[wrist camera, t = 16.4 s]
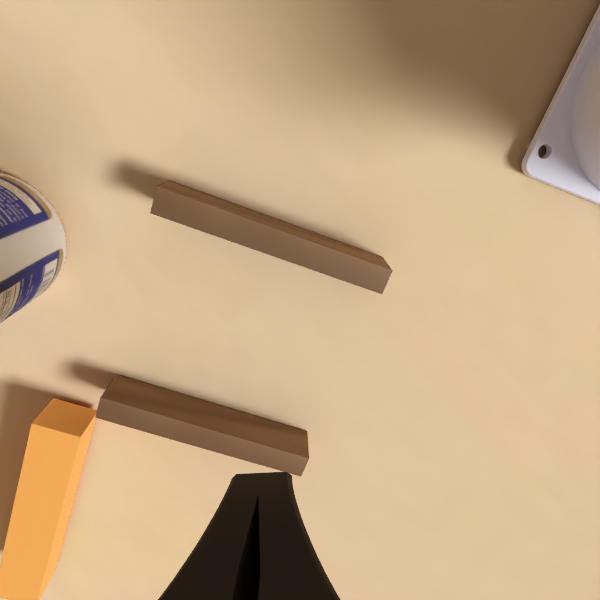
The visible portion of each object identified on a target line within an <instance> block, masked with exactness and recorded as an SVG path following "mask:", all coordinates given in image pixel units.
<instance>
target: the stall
mask: <svg viewBox="0 0 600 600" xmlns="http://www.w3.org/2000/svg"><path fill="white" fill-rule="evenodd" d="M150 213H151V214H154V215H157V216H160V217H163V218H166V219H169V220H171V221H174V222H177V223H180V224H183V225H186V226H189V227H191V228H194V229H197V230H200V231H203V232H206V233H209V234H211V235H214V236H217V237H220V238H223V239H226V240H229V241H231V242H234V243H237V244H240V245H243V246H246V247H249V248H251V249H254V250H257V251H260V252H263V253H266V254H269V255H271V256H274V257H277V258H280V259H283V260H286V261H289V262H291V263H294V264H297V265H300V266H303V267H306V268H309V269H312V270H314V271H317V272H320V273H323V274H326V275H329V276H332V277H334V278H337V279H340V280H343V281H346V282H349V283H352V284H354V285H357V286H360V287H363V288H366V289H369V290H372V291H374V292H377V293H380V294H382V293H383V291H384V289H385V286H386V284H387V282H388V280H389V277H390V275H391V273H392V269H391V268H390V266H389V265H388V264H387V262H386V261H385V260H384V258H383V257H380V256H378V255H375V254H372V253H369V252H366V251H364V250H361V249H358V248H355V247H353V246H350V245H347V244H344V243H342V242H339V241H336V240H333V239H330V238H328V237H325V236H322V235H319V234H317V233H314V232H311V231H308V230H306V229H303V228H300V227H297V226H294V225H292V224H289V223H286V222H283V221H281V220H278V219H275V218H272V217H270V216H267V215H264V214H261V213H258V212H256V211H253V210H250V209H247V208H245V207H242V206H239V205H236V204H234V203H231V202H228V201H225V200H222V199H220V198H217V197H214V196H211V195H209V194H206V193H203V192H200V191H198V190H195V189H192V188H189V187H186V186H184V185H181V184H178V183H175V182H173V181H168V182H166V183H164V184H162V185H159V186H157V190H156V193H155V197H154V201H153V205H152V208H151V212H150ZM95 418H99V419H102V420H106V421H109V422H113V423H116V424H120V425H123V426H127V427H130V428H134V429H137V430H141V431H144V432H148V433H151V434H155V435H158V436H162V437H165V438H169V439H172V440H176V441H179V442H183V443H186V444H190V445H193V446H197V447H200V448H204V449H207V450H211V451H214V452H217V453H221V454H224V455H228V456H231V457H235V458H238V459H242V460H245V461H249V462H252V463H256V464H259V465H263V466H266V467H270V468H273V469H277V470H280V471H284V472H288V473H291V474H294V475H298V476H301V475H302V473H303V471H304V469H305V466H306V464H307V462H308V460H309V452H308V437H307V431H304V430H300V429H297V428H294V427H290V426H287V425H284V424H280V423H277V422H274V421H270V420H267V419H264V418H260V417H257V416H254V415H250V414H247V413H244V412H240V411H237V410H234V409H230V408H227V407H224V406H221V405H217V404H214V403H211V402H207V401H204V400H201V399H197V398H194V397H191V396H187V395H184V394H181V393H177V392H174V391H171V390H167V389H164V388H161V387H157V386H154V385H151V384H147V383H144V382H141V381H137V380H134V379H131V378H127V377H124V376H121V375H117V374H116V376H115V377H114V379H113V380H112V382H111V383H110V385H109V386H108V387H107V389H106V390H105V392H104V393H103V395H102V396H101V398H100V402H99V405H98V409H97V413H96V416H95Z"/></svg>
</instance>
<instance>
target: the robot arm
mask: <svg viewBox="0 0 600 600" xmlns="http://www.w3.org/2000/svg"><path fill="white" fill-rule="evenodd" d="M542 145H545V146H546V149H547V151H546V154H545V155H544V156H543V157H542V158H540V157H539V156H538V150H539V148H540V147H541V146H542ZM521 167H522V171H523V173H524V174H525V175H527V176H529V177H531V178H533V179H536V180H538V181H541V182H543V183H546V184H548V185H551V186H553V187H556V188H558V189H561V190H563V191H566V192H568V193H571V194H573V195H576V196H578V197H581V198H583V199H585V200H588V201H590V202H593V203H595V204H598V205H600V5H599V7H598V9H597V11H596V13H595V15H594V17H593V19H592V21H591V23H590V25H589V27H588V29H587V31H586V33H585V35H584V37H583V39H582V41H581V43H580V45H579V47H578V49H577V51H576V53H575V55H574V57H573V59H572V61H571V63H570V65H569V67H568V69H567V71H566V73H565V75H564V77H563V79H562V81H561V83H560V85H559V87H558V89H557V91H556V93H555V95H554V97H553V99H552V101H551V103H550V105H549V107H548V109H547V111H546V113H545V115H544V117H543V119H542V121H541V123H540V125H539V127H538V130H537V132H536V134H535V136H534V138H533V140H532V142H531V144H530V146H529V148H528V150H527V152H526V154H525V156H524V158H523V160H522V163H521ZM158 600H340V598H339V597H338V595H337V593H336V592H335V590H334V588H333V586H332V584H331V582H330V581H329V579H328V577H327V575H326V573H325V571H324V569H323V567H322V565H321V563H320V561H319V559H318V557H317V554H316V552H315V550H314V548H313V546H312V543H311V541H310V538H309V536H308V533H307V531H306V528H305V526H304V523H303V521H302V518H301V515H300V512H299V509H298V506H297V502H296V499H295V495H294V490H293V484H292V475H290V474H289V473H288V472H273V473H252V474H236V475H235V476H234V477H233V478H232V480H231V482H230V485H229V487H228V489H227V491H226V493H225V495H224V497H223V499H222V501H221V503H220V505H219V507H218V509H217V511H216V513H215V514H214V516H213V518H212V520H211V522H210V523H209V525H208V527H207V528H206V530H205V532H204V533H203V535H202V537H201V538H200V540H199V542H198V543H197V545H196V547H195V548H194V550H193V551H192V553H191V554H190V556H189V557H188V559H187V560H186V562H185V563H184V565H183V566H182V567H181V569H180V570H179V572H178V573H177V575H176V576H175V578H174V579H173V580H172V582H171V583H170V585H169V586H168V587H167V589H166V590H165V591H164V593H163V594H162V595H161V597H160V598H159V599H158Z"/></svg>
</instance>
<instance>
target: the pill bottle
mask: <svg viewBox="0 0 600 600" xmlns="http://www.w3.org/2000/svg"><path fill="white" fill-rule="evenodd" d="M65 258H66V238H65V232H64V228H63V225H62V223H61V221H60V218H59V216H58V214H57V213H56V211H55V210H54V208H53V207H52V205H51V204H50V203H49V202H48V201H47V199H46V198H45V197H44V196H43V195H42V194H41V193H39V192H38V191H37V190H36V189H35V188H33V187H32V186H30V185H29V184H27V183H25V182H24V181H22V180H20V179H18V178H15V177H13V176H10V175H7V174H3V173H0V323H1V322H2V321H4V320H5V319H7V318H8V317H10V316H11V315H12V314H14V313H15V312H17V311H18V310H19V309H21V308H22V307H24V306H25V305H27V304H28V303H30V302H31V301H32V300H34V299H35V298H36V297H38V296H39V295H40V294H42V293H43V292H44V291H45V290H47V289H48V288H49V287H50V286H51V285H52V284H53V283H54V282H55V280H56V279H57V278H58V276H59V275H60V273H61V271H62V268H63V266H64V262H65Z"/></svg>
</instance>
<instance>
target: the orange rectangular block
mask: <svg viewBox="0 0 600 600" xmlns="http://www.w3.org/2000/svg"><path fill="white" fill-rule="evenodd" d="M96 413H97V410H93V409H90V408H86V407H83V406H80V405H76V404H73V403H69V402H66V401H62V400H59V399H55V398H53V399H52V400H51V401H50V403H49V404H48V405H47V406H46V407H45V408H44V410H43V411H42V412H41V413H40V414H39V415H38V417H37V418H36V419H35V420H34V421H33V422H32V424H31V428H30V433H29V437H28V442H27V446H26V451H25V455H24V460H23V464H22V469H21V473H20V478H19V482H18V487H17V491H16V496H15V500H14V505H13V509H12V514H11V518H10V523H9V527H8V532H7V536H6V541H5V545H4V550H3V554H2V559H1V563H0V598H3V599H7V600H40V598H41V596H42V594H43V592H44V590H45V589H46V587H47V585H48V583H49V581H50V579H51V577H52V575H53V573H54V571H55V569H56V565H57V561H58V557H59V554H60V550H61V546H62V543H63V539H64V535H65V531H66V528H67V524H68V520H69V517H70V513H71V509H72V506H73V502H74V498H75V494H76V491H77V487H78V483H79V480H80V476H81V472H82V468H83V465H84V461H85V457H86V454H87V450H88V446H89V443H90V439H91V435H92V431H93V428H94V424H95V420H96V418H95V416H96Z"/></svg>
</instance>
